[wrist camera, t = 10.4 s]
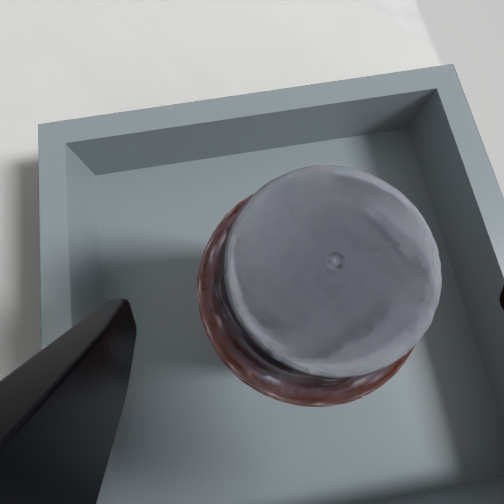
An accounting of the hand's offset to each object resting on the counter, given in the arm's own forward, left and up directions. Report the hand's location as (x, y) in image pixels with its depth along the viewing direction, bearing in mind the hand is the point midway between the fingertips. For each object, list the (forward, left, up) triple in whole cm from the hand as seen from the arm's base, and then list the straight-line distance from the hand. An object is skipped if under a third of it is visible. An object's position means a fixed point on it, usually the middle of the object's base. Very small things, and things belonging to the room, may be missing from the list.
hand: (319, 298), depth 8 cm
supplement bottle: (+1, 0, -9) cm, 9 cm away
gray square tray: (+1, 0, -10) cm, 10 cm away
